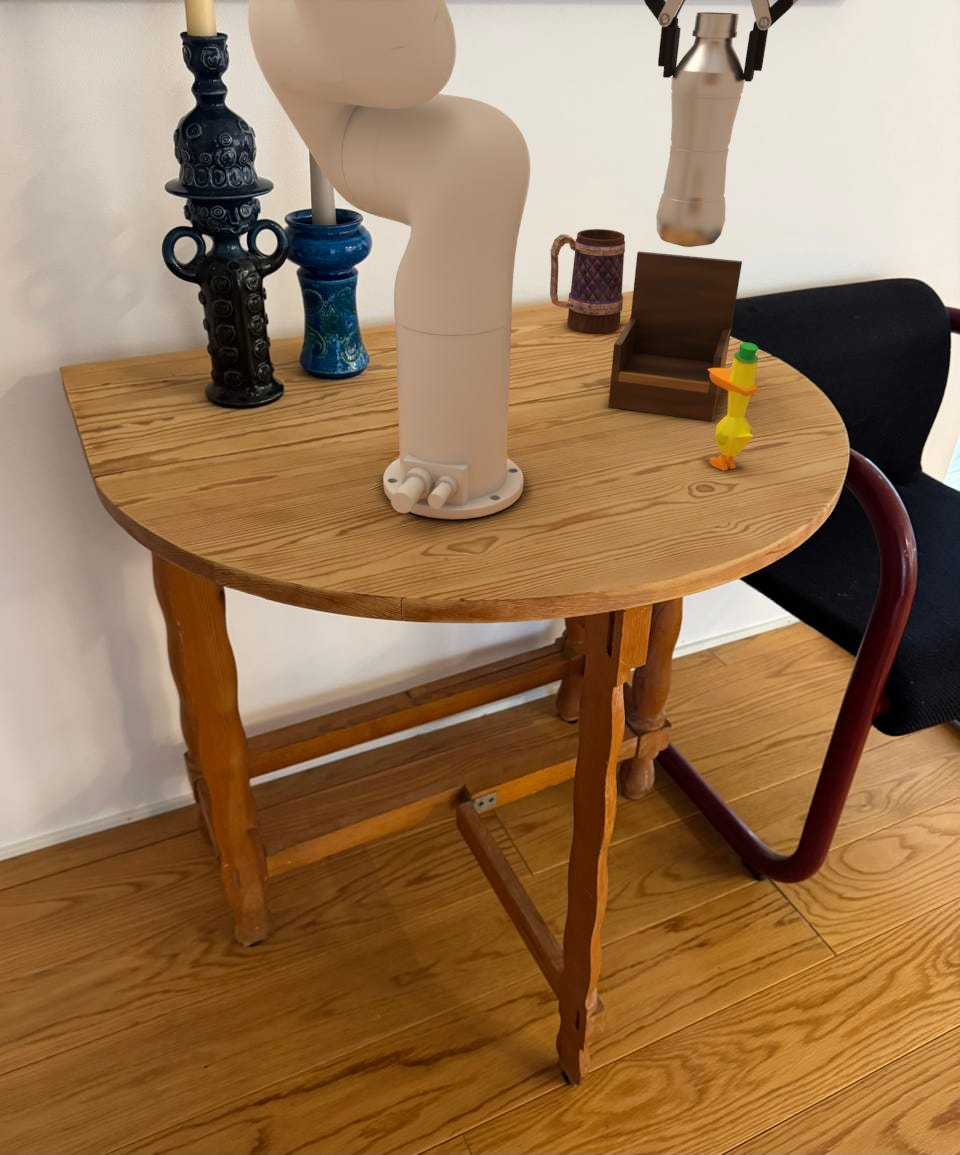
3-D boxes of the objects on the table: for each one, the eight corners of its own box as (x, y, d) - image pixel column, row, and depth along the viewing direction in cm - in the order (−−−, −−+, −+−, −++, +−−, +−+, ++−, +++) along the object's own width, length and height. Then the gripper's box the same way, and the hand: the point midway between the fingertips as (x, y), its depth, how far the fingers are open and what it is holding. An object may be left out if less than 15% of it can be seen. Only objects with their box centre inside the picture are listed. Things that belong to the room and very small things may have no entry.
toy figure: (683, 454, 92) (701, 333, 86) (712, 447, 94) (731, 327, 87) (731, 482, 87) (754, 357, 81) (760, 474, 89) (784, 350, 82)
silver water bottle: (726, 254, 92) (764, 16, 81) (657, 252, 92) (685, 14, 81) (714, 238, 98) (748, 12, 87) (648, 236, 98) (674, 10, 87)
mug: (606, 315, 128) (614, 223, 122) (629, 332, 122) (639, 236, 116) (536, 322, 125) (540, 228, 119) (556, 339, 120) (562, 241, 113)
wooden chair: (711, 421, 99) (733, 286, 91) (608, 407, 102) (620, 275, 94) (721, 387, 107) (742, 260, 99) (625, 375, 110) (638, 251, 102)
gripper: (626, -173, 76) (606, 77, 86) (852, -177, 72) (804, 87, 82) (642, -163, 82) (622, 70, 92) (851, -166, 78) (807, 79, 88)
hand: (708, 76), depth 87 cm, fingers closed on silver water bottle, 6 cm apart
